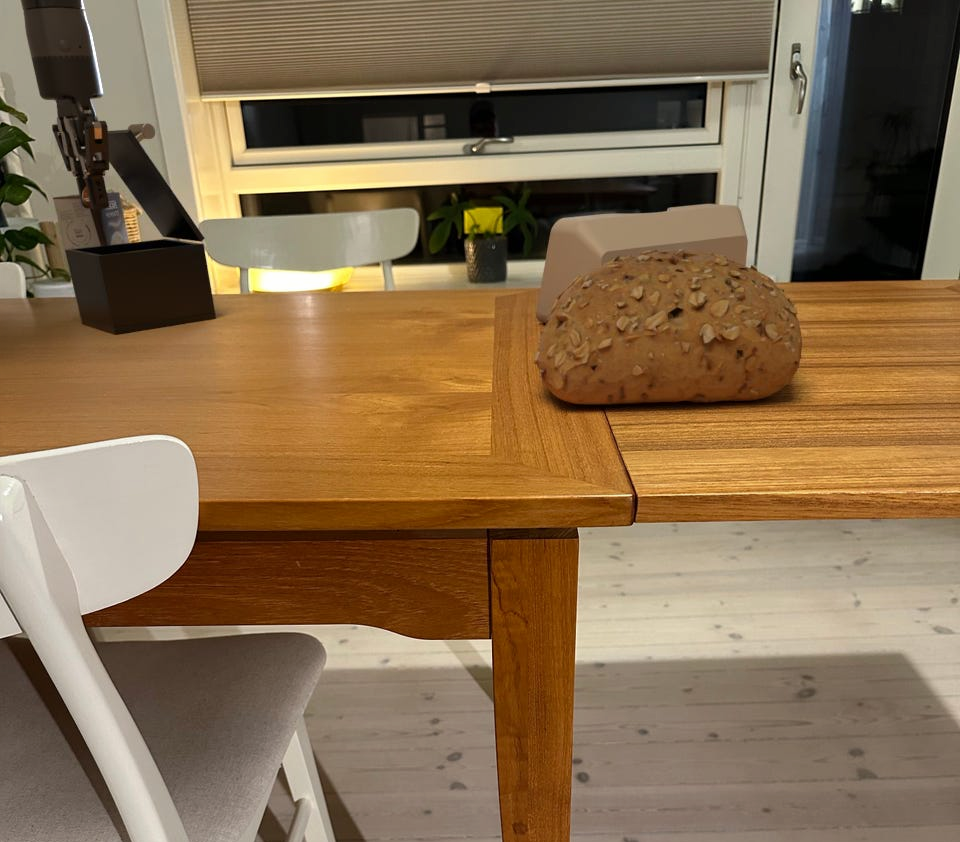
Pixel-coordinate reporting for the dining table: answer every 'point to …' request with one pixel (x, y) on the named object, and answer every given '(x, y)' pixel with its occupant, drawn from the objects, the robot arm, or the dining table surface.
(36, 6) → the robot arm
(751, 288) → the bread
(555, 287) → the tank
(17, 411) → the dining table surface
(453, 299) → the dining table surface
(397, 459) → the dining table surface
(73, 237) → the coffee box
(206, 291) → the open black box
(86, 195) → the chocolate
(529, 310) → the dining table surface
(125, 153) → the lid
